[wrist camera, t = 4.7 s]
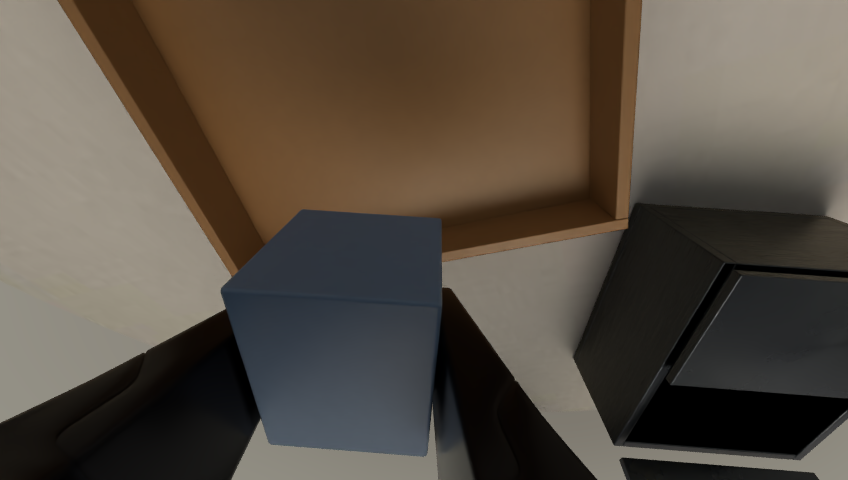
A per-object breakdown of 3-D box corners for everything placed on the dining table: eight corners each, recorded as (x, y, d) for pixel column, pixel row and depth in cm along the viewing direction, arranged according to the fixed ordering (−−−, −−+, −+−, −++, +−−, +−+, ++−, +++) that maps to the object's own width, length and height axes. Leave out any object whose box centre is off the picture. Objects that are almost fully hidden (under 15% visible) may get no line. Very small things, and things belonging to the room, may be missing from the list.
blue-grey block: (431, 343, 10) (426, 458, 7) (319, 334, 10) (268, 445, 7) (441, 217, 8) (442, 304, 5) (300, 207, 8) (217, 288, 5)
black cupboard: (715, 369, 24) (814, 476, 18) (573, 358, 24) (620, 460, 18) (826, 215, 18) (1040, 294, 12) (635, 202, 18) (741, 273, 12)
